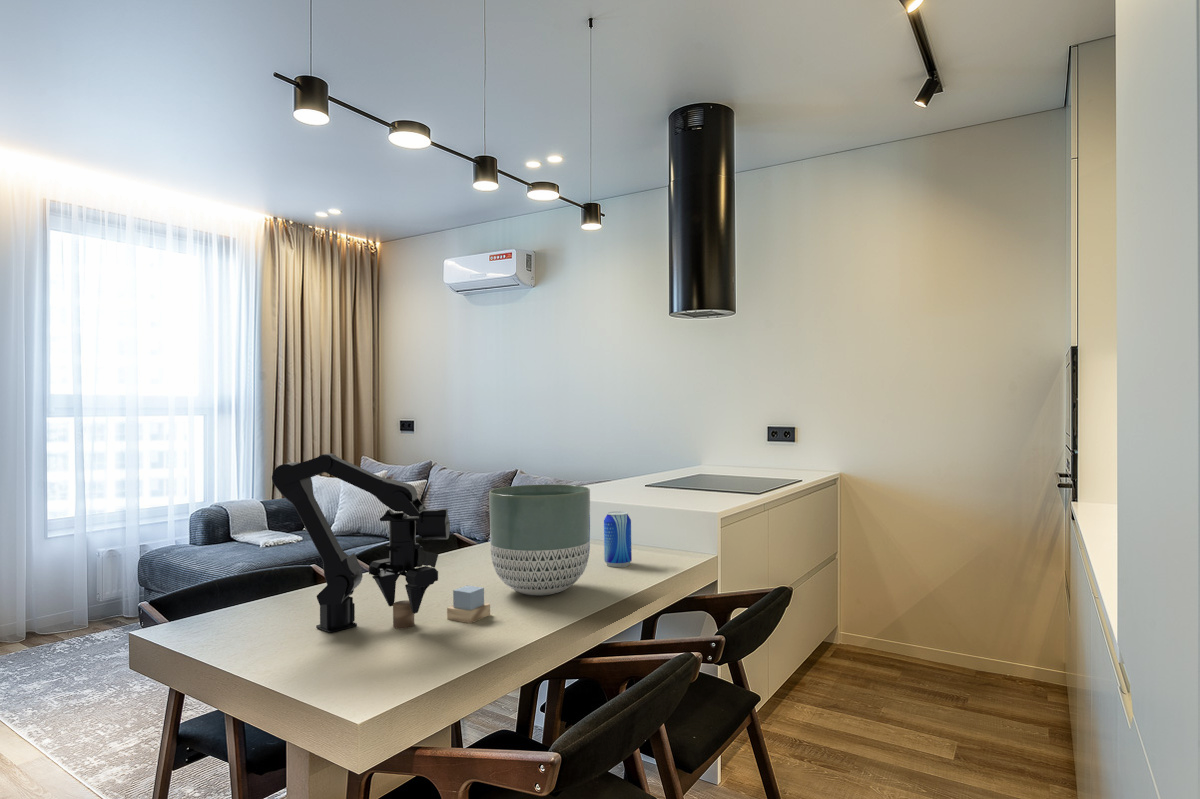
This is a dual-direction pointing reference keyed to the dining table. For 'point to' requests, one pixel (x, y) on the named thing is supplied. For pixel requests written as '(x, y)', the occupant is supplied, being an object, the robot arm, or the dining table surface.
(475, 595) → the top block
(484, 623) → the dining table surface
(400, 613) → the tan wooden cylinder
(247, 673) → the dining table surface
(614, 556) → the beer can
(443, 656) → the dining table surface
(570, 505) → the planter
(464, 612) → the base block
